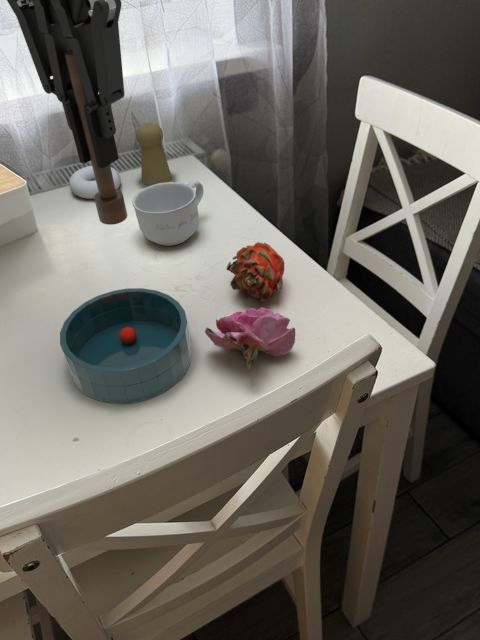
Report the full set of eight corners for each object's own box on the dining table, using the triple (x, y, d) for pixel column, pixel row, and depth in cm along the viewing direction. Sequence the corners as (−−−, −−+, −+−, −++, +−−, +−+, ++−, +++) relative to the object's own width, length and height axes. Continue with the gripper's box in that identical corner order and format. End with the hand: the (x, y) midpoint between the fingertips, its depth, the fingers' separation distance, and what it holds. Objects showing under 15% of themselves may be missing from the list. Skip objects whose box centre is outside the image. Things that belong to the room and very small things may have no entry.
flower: (228, 349, 88) (254, 288, 86) (281, 382, 84) (310, 319, 82) (181, 353, 79) (208, 284, 76) (238, 391, 74) (269, 320, 72)
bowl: (45, 375, 81) (32, 342, 77) (125, 307, 91) (118, 275, 87) (139, 422, 75) (130, 389, 70) (214, 343, 85) (210, 311, 81)
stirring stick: (93, 220, 73) (49, 54, 60) (112, 208, 75) (73, 44, 62) (114, 227, 71) (74, 59, 58) (133, 214, 73) (98, 48, 60)
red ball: (117, 344, 84) (114, 331, 83) (128, 334, 86) (125, 321, 84) (130, 349, 83) (127, 337, 82) (141, 339, 85) (138, 326, 83)
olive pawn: (144, 188, 118) (134, 134, 111) (140, 174, 123) (130, 122, 115) (174, 183, 119) (166, 129, 112) (169, 170, 124) (161, 117, 116)
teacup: (161, 261, 100) (153, 219, 94) (128, 234, 106) (119, 194, 101) (227, 230, 106) (224, 189, 101) (192, 207, 112) (187, 167, 107)
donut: (105, 173, 124) (62, 189, 119) (102, 157, 121) (57, 173, 117) (132, 189, 118) (87, 207, 113) (129, 173, 116) (83, 190, 111)
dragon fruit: (258, 325, 90) (250, 286, 99) (303, 291, 87) (290, 255, 97) (221, 288, 85) (216, 252, 95) (267, 252, 83) (257, 218, 93)
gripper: (133, -99, 51) (172, 160, 67) (12, -104, 57) (74, 135, 73) (71, -86, 46) (128, 189, 63) (-54, -92, 52) (28, 160, 69)
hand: (99, 160), depth 68 cm, fingers closed on stirring stick, 2 cm apart
